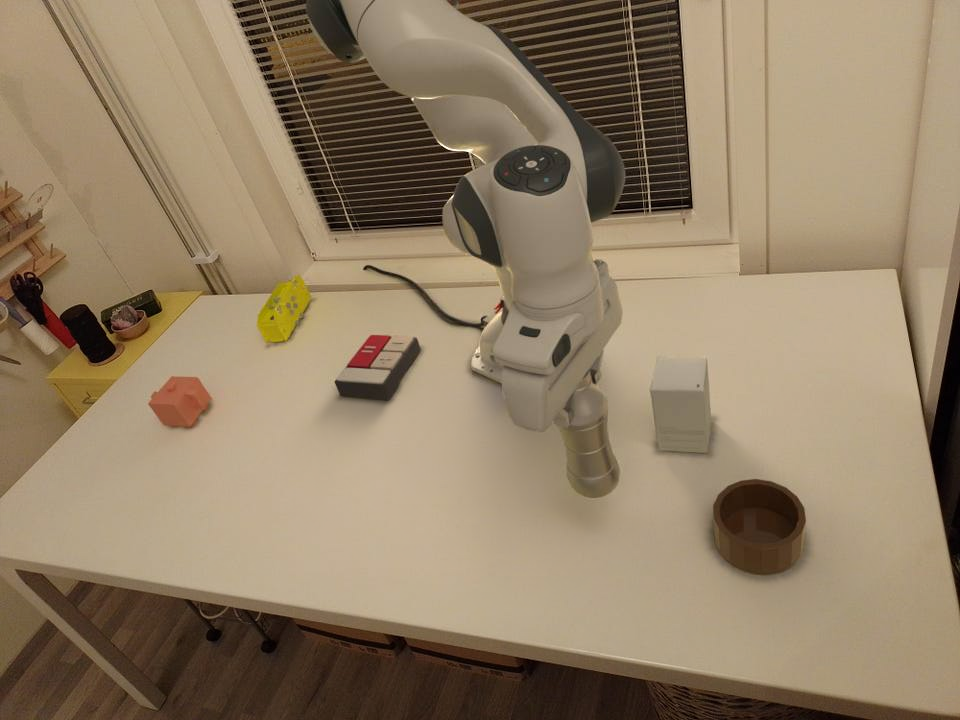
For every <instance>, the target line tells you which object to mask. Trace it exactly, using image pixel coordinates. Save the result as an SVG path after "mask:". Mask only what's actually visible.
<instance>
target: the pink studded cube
mask: <svg viewBox="0 0 960 720" xmlns="http://www.w3.org/2000/svg"><path fill="white" fill-rule="evenodd" d="M150 398H151V399H150V400H149V401H148V403H147V404H148V406H149V408H150V409H151V410H152V411H153V413H154V414H155V415H156V417H157V418H158V420H159V421H160V423H161V424H162V425H163V426H167V427H168V426H169V427H185V428H187V427H188V428H189V427H193V426H195V425H196V424H197V419H198V417H199V416H200V415H201V413H203V412H206V411H207V410H208V408H209V406H208V405H209V404H210V403H211V401H212V400H213V399H212V397H211V395H210V394H209V392H208V391H207V389H206V388H205V385H204V384H203V383H202V381H201V380H200V378H199V377H198V376H176V375H175V376H170V378H169V379H168V380H167V381H166V382H165V383H164V384H163V385H162V386H161V388H159V390H158V391H154V392H152V394H151V395H150Z"/></svg>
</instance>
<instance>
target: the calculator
mask: <svg viewBox="0 0 960 720" xmlns="http://www.w3.org/2000/svg"><path fill="white" fill-rule="evenodd" d="M421 350H422V349H421V346H420V342H419V340H418V338H417V337H415V336H411V335H410V336H409V335H392V336H391V335H390V334H389V335H387V334H385V335H383V334H370V335H369V336H368V337H367V339H366V340H365V341H364V342H363V344H362V345H361V346H360V347H359V349H358V350H357V351H356V353H354V355H353V356H352V358H351V359H350V360H349V362H348V363H347V365H346V366H345V368H344V369H343V370H342V372H341V373H340V374H339V375H338V377H337V378H336V379H335V380H334V384H335V387H336V389H337V391H338V394H339V396H340V397H342V398H354V399H365V400H378V401H390V400H391V398H392V397H393V396H394V394H395V392H396V391H397V389H398V388H399V383H400V381H401V380H402V378H403V377H404V376H405V374H406V373H407V371H408V369H409V368H410V367H411V365H412V364H413V362H414V361H415V359H416V358H417V357H418V355H419V353H420V352H421Z"/></svg>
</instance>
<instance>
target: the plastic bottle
mask: <svg viewBox="0 0 960 720" xmlns="http://www.w3.org/2000/svg"><path fill="white" fill-rule="evenodd" d="M565 404H566V405H565V407H564V408H569V409H572V412H573V414H572V416H573V420H572V421H571V423H570V424H569V426H568V428H563V427H560V426H557V428H558V431H559V433H560V436H561V438H562V441H563V445H564V449H565V457H566V464H565V468H566V469H565V471H566V479H567V481H568V483H569V485H570V486H571V488H572V490H573V491H574V492H575V493H577V494H578V495H580V496H582V497H586V498H588V499H600V498H603V497H606V496H608V495H610V494H612V492H613V491H614V490H615V489H616V488H617V487H618V485H619V482H620V475H621V468H620V465H619V462H618V459H617V457H616V455H615V454H614V452H613V448H612V445H611V442H610V436H609V427H608V426H609V425H608V421H609V420H608V419H609V405H608V404H609V403H608V397H607V396H606V394H605V393H604V391H603V389H602V388H601V387H599V386H598V384H594V383H593V382H592V376H591V374H590V369H589V370H588V372H587V373H586V375H585V376H584V377H583V379H582V380H581V382H580V383H579V385H578V386H577V387H576V389H575V390H574V392H573V393H572V395H571V396H570V398H569V399H568V400H567V402H566V403H565Z"/></svg>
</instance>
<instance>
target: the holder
mask: <svg viewBox="0 0 960 720" xmlns="http://www.w3.org/2000/svg"><path fill="white" fill-rule="evenodd" d="M712 513H713V515H712V519H713V536H714V544H715V546H716V549H717V551H718V553H719V554H720V555H721V557H722V558H723V559H724V560H725V561H726V562H727V563H728V564H729V565H731V566H733V568H736V569H737V570H739V571H742V572H744V573H746V574H747V573H748V574H751V575H757V576H771V575H776V574H777V575H778V574H780V573H781V574H782V573H783V572H786V571H788V570H789V569H791V568H792V567H793V566H795V565H796V564H797V562H798V561H799V560H800V559H801V557H802V555H803V552H804V548H805V547H804V546H805V539H806V527H807V515H806V509H805V506H804V505H803V503H802V502H801V500H800V499H799V496H797V495H796V494H795V493H794V492H793V491H791V490H790V489H788V488H787V486H786V487H785V486H783V485H781V484H779V483H776V482H774V481H772V480H766V479H760V478H759V479H758V478H751V479H741V480H739V481H736V482H733V483H731V484H728V485H727V486H726V487H725V488H724V489H722V490H721V492H719V493H718V494H717V496H716V498H715V500H714V503H713V505H712Z"/></svg>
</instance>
